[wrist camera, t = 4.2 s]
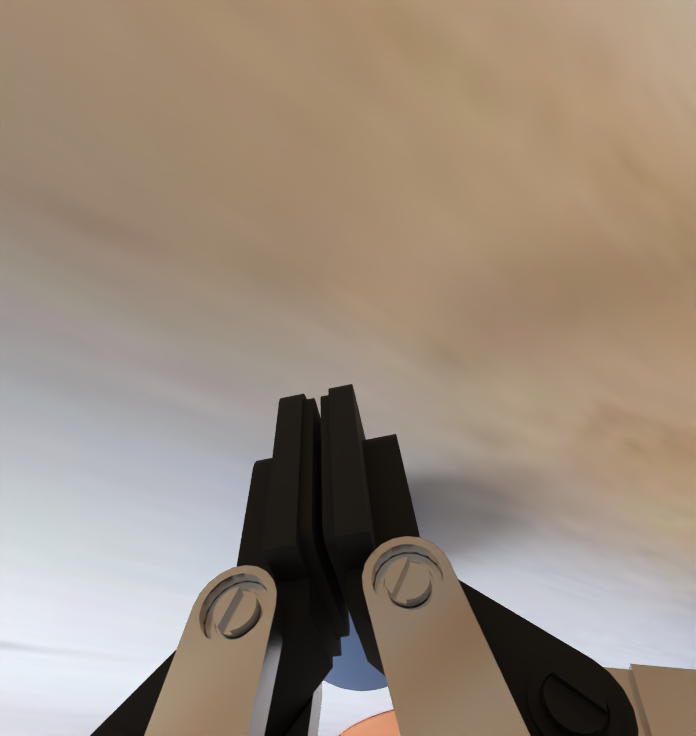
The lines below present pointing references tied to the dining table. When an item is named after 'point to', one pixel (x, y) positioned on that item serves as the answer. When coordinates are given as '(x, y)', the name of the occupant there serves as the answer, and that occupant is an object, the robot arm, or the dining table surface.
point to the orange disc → (376, 726)
